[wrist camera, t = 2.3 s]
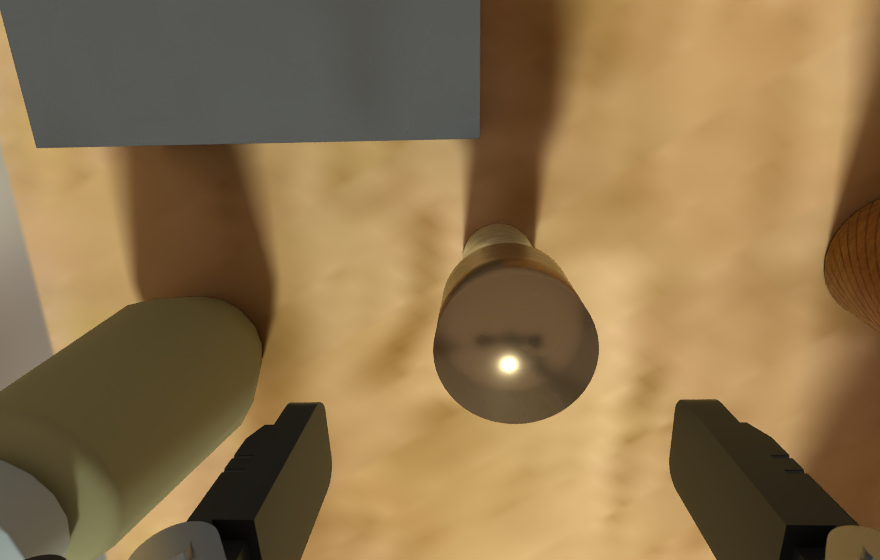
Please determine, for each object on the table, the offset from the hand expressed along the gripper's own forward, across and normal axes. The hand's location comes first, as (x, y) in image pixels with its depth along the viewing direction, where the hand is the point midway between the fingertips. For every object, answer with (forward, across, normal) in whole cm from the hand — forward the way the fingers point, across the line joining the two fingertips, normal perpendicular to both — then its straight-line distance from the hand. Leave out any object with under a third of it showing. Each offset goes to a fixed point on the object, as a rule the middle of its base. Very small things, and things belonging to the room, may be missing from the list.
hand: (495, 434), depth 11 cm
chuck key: (+14, -1, 0) cm, 14 cm away
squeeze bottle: (+15, +15, +4) cm, 22 cm away
